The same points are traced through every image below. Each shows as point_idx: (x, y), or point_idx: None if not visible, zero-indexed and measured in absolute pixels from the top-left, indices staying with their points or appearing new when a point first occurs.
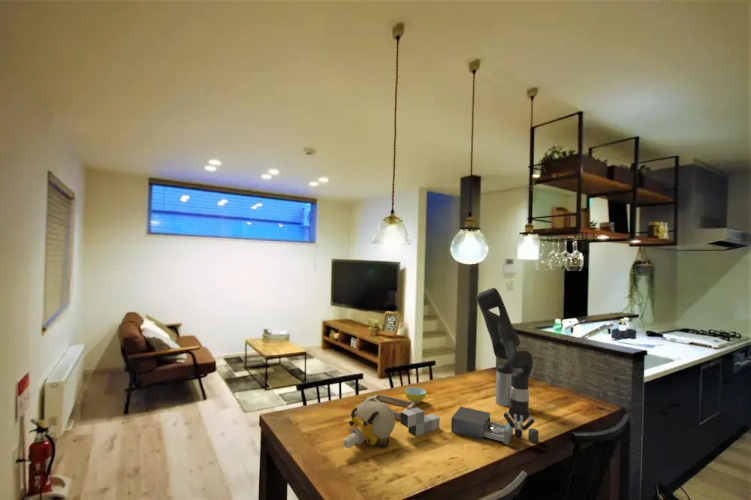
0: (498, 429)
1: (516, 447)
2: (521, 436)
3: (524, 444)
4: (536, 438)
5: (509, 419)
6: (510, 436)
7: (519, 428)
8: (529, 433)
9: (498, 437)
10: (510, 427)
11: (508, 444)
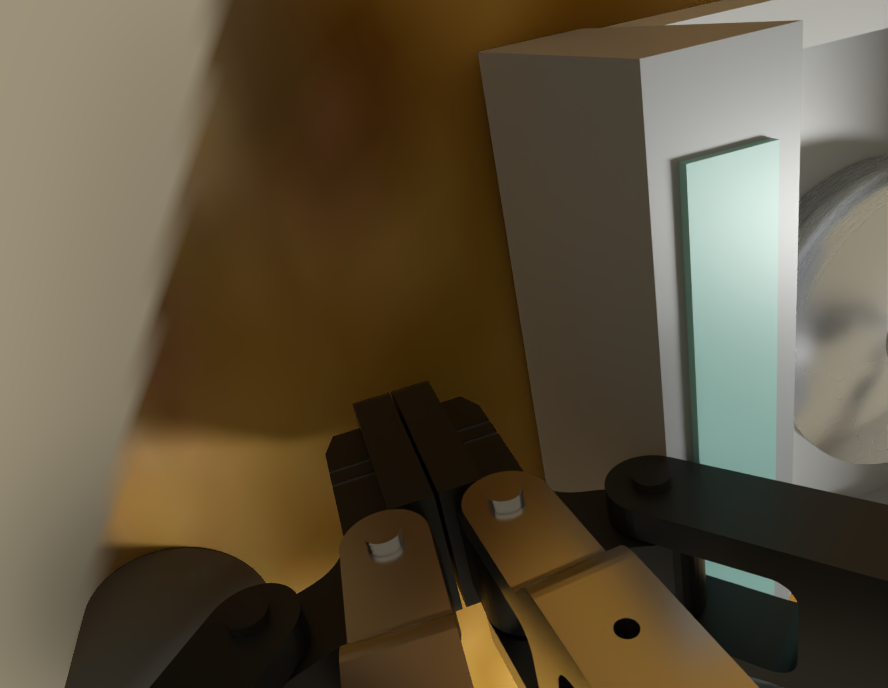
0: (847, 292)
1: (308, 109)
2: (332, 455)
3: (241, 376)
4: (72, 668)
5: (865, 591)
6: (546, 340)
7: (418, 542)
8: None
9: (757, 1)
10: (658, 409)
11: (483, 54)
